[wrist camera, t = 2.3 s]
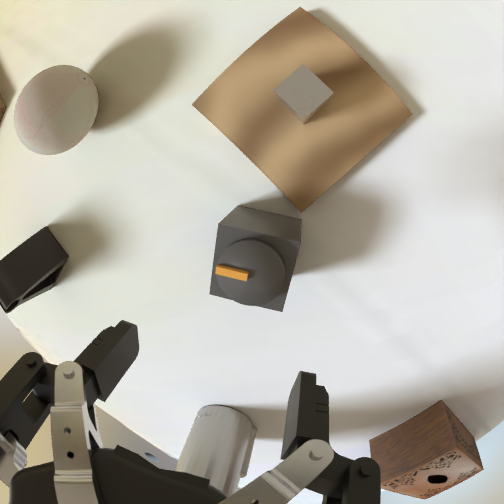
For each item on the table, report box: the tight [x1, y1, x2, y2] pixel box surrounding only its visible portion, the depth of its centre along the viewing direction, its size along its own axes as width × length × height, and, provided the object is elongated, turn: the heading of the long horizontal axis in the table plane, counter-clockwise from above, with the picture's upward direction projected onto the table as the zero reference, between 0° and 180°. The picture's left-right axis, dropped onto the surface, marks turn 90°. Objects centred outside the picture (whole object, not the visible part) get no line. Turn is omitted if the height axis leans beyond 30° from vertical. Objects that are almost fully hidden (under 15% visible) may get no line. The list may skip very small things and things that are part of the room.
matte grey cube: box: [273, 64, 334, 124], centre depth 19 cm, size 3×3×4 cm
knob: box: [210, 206, 301, 312], centre depth 24 cm, size 6×6×8 cm
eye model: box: [14, 65, 99, 155], centre depth 21 cm, size 10×10×10 cm
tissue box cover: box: [369, 400, 484, 499], centre depth 32 cm, size 26×14×10 cm, turn 48°
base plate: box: [192, 7, 412, 212], centre depth 22 cm, size 14×14×2 cm
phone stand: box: [0, 226, 69, 313], centre depth 29 cm, size 9×6×12 cm, turn 132°
